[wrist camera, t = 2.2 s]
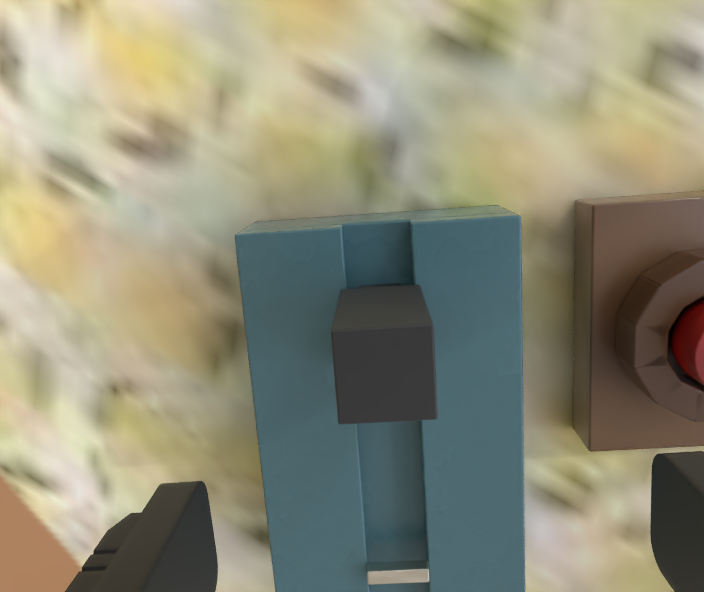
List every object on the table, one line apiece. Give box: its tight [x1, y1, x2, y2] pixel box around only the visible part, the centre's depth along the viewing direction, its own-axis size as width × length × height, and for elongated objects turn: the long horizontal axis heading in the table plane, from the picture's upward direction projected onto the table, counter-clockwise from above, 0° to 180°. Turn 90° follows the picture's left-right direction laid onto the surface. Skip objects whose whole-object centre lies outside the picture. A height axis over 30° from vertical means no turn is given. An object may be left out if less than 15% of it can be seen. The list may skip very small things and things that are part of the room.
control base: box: [235, 205, 525, 592], centre depth 25 cm, size 16×10×5 cm, turn 4°
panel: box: [573, 191, 704, 451], centre depth 24 cm, size 10×8×4 cm
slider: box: [331, 283, 438, 424], centre depth 20 cm, size 3×3×6 cm
